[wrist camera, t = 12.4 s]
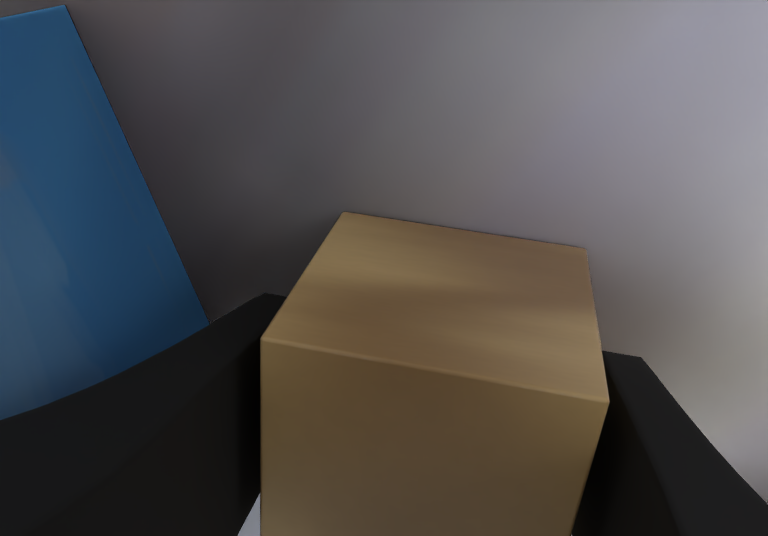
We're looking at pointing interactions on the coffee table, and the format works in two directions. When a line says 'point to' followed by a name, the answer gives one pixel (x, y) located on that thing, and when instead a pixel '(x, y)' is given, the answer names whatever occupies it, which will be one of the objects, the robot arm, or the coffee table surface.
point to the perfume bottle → (75, 227)
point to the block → (430, 386)
